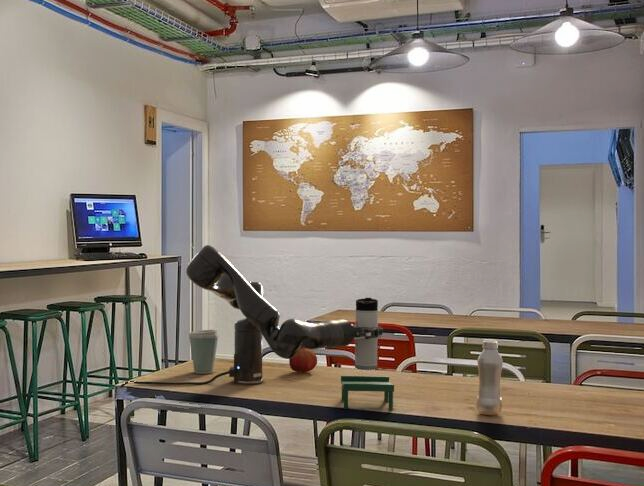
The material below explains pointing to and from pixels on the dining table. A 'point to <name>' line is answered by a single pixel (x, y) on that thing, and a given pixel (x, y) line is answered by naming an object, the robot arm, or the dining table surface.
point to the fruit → (303, 360)
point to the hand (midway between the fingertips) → (372, 329)
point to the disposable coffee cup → (203, 350)
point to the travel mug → (364, 317)
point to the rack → (367, 387)
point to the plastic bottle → (489, 379)
